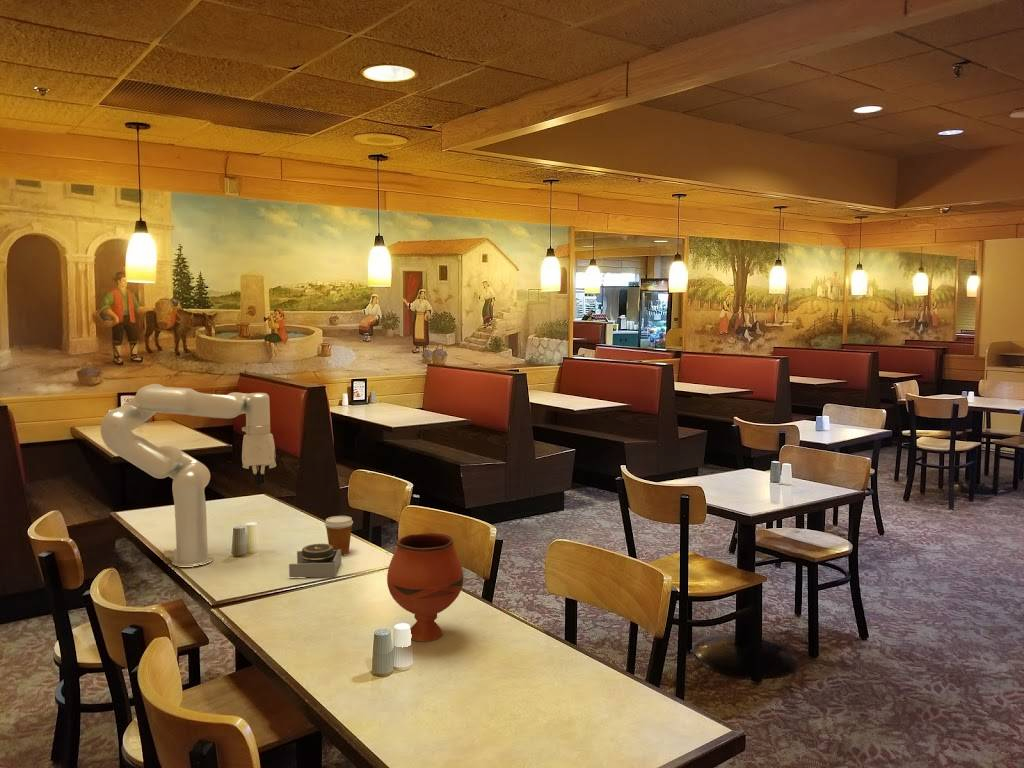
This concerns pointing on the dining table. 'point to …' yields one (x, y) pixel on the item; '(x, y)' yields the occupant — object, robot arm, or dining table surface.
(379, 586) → the dining table surface
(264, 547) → the dining table surface
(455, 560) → the goblet
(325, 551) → the jar
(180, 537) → the robot arm
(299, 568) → the bin
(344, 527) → the disposable coffee cup
